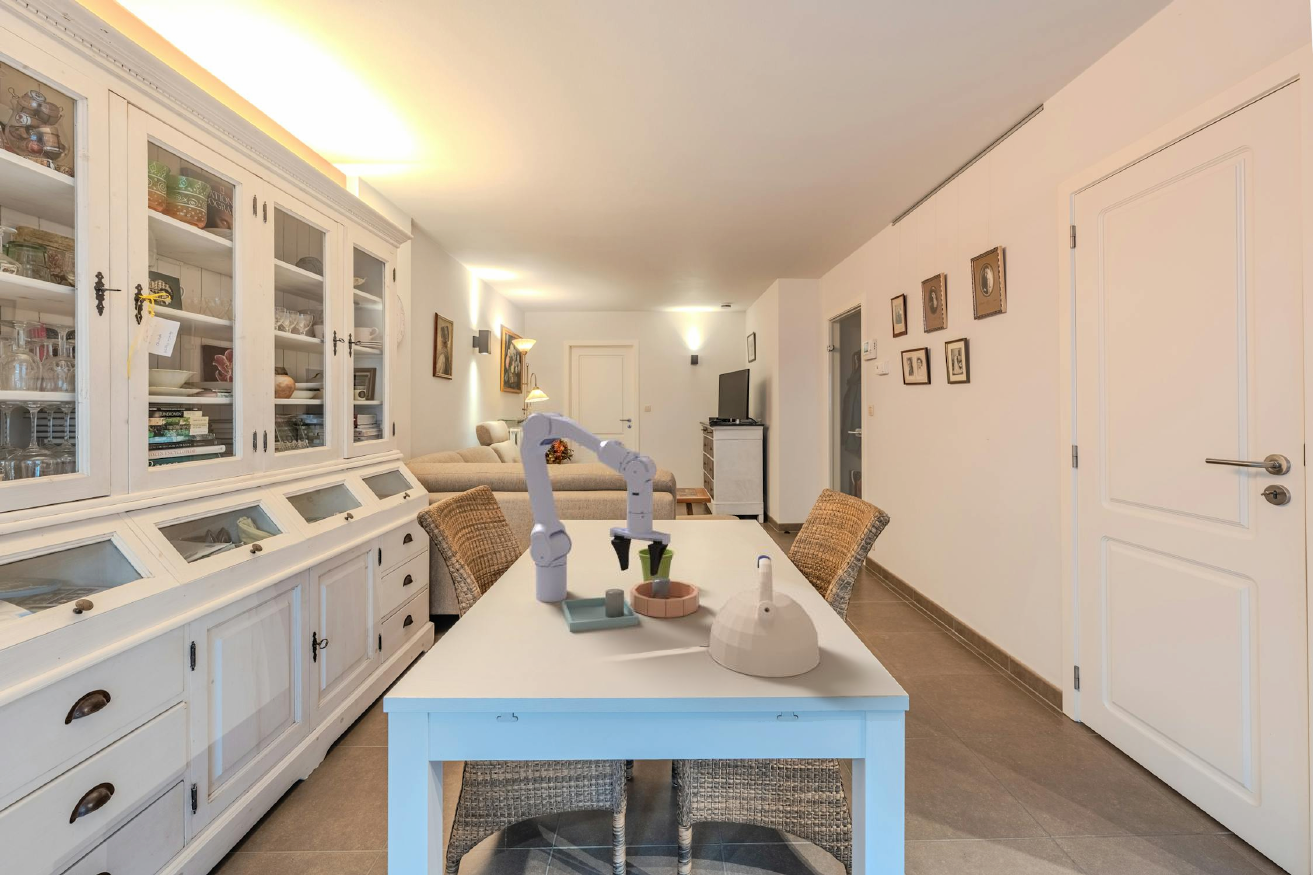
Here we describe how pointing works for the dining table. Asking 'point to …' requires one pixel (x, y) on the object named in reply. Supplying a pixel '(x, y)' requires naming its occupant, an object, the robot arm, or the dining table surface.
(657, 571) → the robot arm
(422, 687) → the dining table surface
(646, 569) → the plant pot
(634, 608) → the terracotta bowl
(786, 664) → the kettle
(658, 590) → the charcoal pebble
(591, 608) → the parts tray
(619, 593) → the slate pebble
